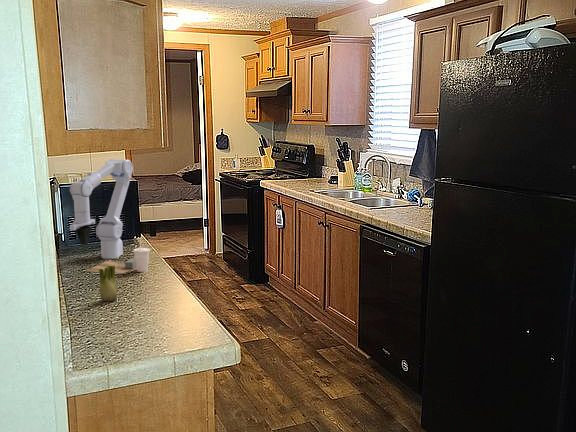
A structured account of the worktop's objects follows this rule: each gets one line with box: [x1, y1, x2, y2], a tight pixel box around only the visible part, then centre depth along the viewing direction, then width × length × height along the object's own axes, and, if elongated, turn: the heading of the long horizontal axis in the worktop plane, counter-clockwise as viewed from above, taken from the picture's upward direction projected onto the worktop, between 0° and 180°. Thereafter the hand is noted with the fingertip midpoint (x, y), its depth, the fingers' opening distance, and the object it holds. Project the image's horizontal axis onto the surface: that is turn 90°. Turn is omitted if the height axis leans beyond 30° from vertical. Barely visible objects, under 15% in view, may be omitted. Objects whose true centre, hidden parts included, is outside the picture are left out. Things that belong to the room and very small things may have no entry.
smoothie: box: [132, 238, 151, 273], centre depth 213 cm, size 6×6×14 cm
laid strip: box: [115, 263, 137, 275], centre depth 217 cm, size 16×8×1 cm, turn 167°
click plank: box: [85, 260, 126, 273], centre depth 219 cm, size 16×8×1 cm, turn 167°
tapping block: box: [124, 257, 136, 270], centre depth 219 cm, size 7×3×2 cm, turn 177°
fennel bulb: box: [98, 265, 118, 302], centre depth 180 cm, size 6×5×12 cm
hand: (83, 244), depth 219 cm, fingers closed
